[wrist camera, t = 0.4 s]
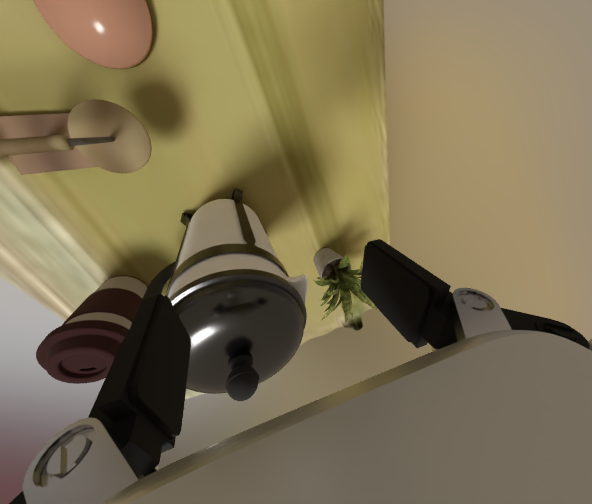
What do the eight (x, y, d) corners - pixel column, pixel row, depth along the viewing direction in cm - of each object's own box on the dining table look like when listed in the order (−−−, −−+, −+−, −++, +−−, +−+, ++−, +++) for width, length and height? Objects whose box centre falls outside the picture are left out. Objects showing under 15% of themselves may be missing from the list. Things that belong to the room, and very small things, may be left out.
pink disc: (4, -73, 19) (-9, -85, 18) (129, -59, 21) (124, -69, 20) (73, 71, 24) (66, 68, 23) (167, 70, 26) (165, 67, 25)
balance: (155, 106, 28) (91, 81, 14) (173, 160, 31) (138, 184, 17) (-100, 119, 22) (-659, 97, 8) (-43, 183, 25) (-363, 247, 11)
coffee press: (188, 166, 32) (95, 284, 7) (279, 206, 40) (381, 328, 15) (160, 259, 37) (51, 505, 13) (244, 278, 45) (278, 455, 20)
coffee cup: (111, 258, 35) (53, 328, 23) (168, 285, 40) (147, 352, 28) (78, 298, 36) (6, 384, 24) (138, 318, 42) (105, 397, 29)
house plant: (286, 236, 43) (318, 283, 30) (346, 217, 46) (399, 253, 32) (298, 286, 51) (327, 341, 38) (348, 268, 54) (392, 313, 40)
